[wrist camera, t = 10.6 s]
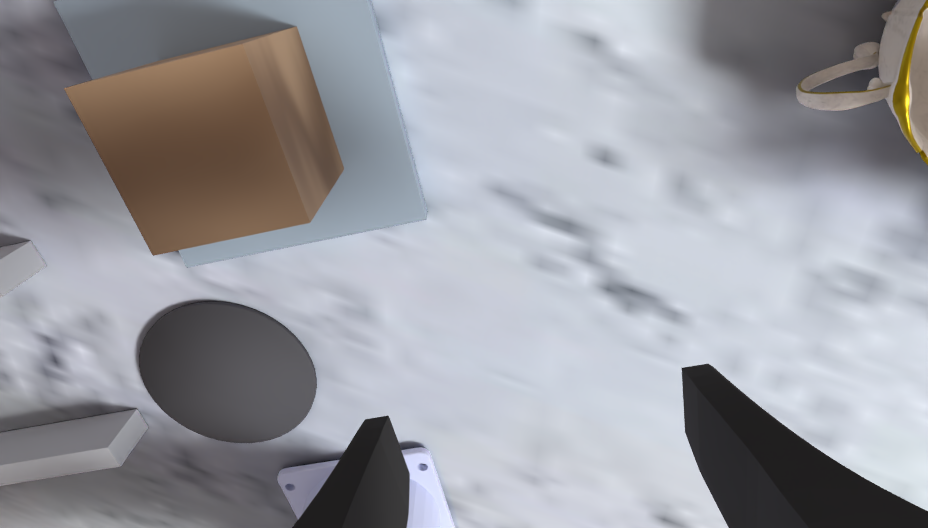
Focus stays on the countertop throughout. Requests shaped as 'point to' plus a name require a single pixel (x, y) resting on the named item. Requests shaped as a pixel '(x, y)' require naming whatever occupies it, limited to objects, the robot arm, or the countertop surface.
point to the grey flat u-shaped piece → (61, 442)
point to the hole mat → (228, 372)
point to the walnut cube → (214, 141)
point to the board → (337, 78)
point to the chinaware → (886, 74)
